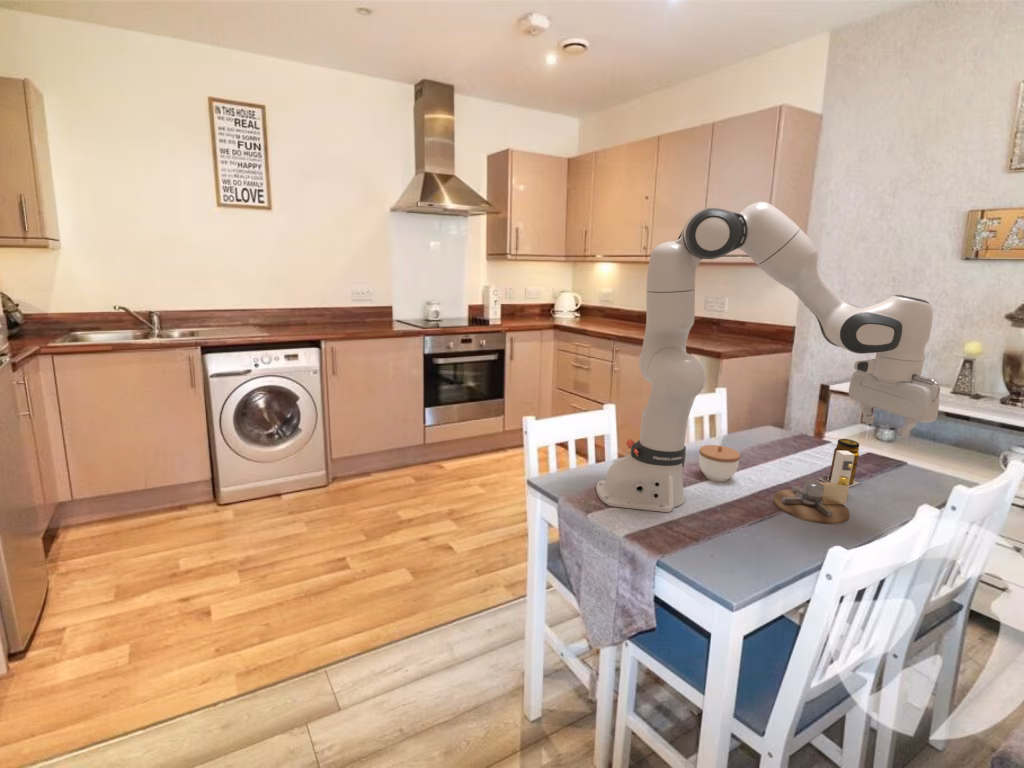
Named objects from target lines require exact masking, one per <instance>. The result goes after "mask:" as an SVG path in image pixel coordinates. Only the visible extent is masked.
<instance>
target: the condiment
mask: <svg viewBox="0 0 1024 768" xmlns="http://www.w3.org/2000/svg"><path fill="white" fill-rule="evenodd" d="M859 450H860V443H859V442H858V441H856V440H852V439H849V438H840V439H838V440H837V444H836V447H835V448H834V451H833V456H832V460H831V461H832V462H831V466H830V470H829V474H828V475H825V476H823V477H819V478H818V480H821V481H822V482H828V481H829V480H831V477H832V472H833V467H834V461H835V456H836V451H849V452H851V453H852V454H854V455H855V456H854V461H853V467H852V471H851V476H850V481H849V488H850V487H853V486H856V485H857V484H860V481H856V480H855V476H856V473H857V472H856V471H857V467H858V463H859V457H860V452H859ZM827 476H828V477H829V480H828V481H827V478H828V477H827ZM825 478H826V479H825ZM829 482H831V481H829Z"/></svg>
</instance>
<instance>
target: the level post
mask: <svg viewBox="0 0 1024 768" xmlns="http://www.w3.org/2000/svg"><path fill="white" fill-rule="evenodd" d="M854 456H855V455H854V454H852V453H851V452H849V451H836V456H835V461H834V467H833V472H832V477H831V482H832V483H838V481H839V477H840V476H844V477H848V478H849V481H850V476H851V471H852V467H853V461H854ZM848 485H849V484H848Z"/></svg>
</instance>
